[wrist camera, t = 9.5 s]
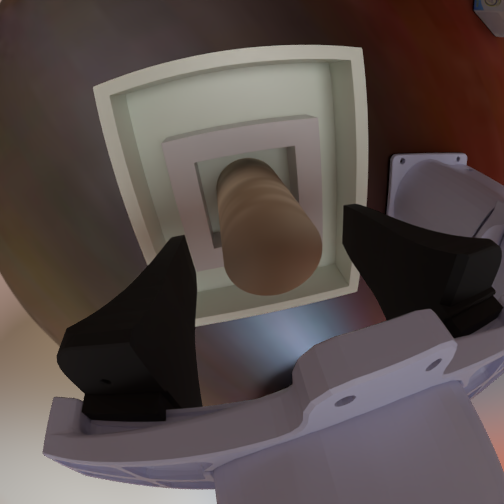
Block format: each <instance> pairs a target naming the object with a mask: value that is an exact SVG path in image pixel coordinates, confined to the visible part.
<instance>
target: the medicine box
mask: <svg viewBox="0 0 504 504" xmlns="http://www.w3.org/2000/svg"><path fill="white" fill-rule="evenodd" d="M474 12H475V13H476V14H477V15H478V16H479V18H480V19H481V20H482V21H483V22H484V23H485V25H486V26H487V27H488V28H489V29H490V31H491V32H492V33H493V34H494V35H495V36H497V37H504V0H474Z"/></svg>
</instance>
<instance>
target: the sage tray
mask: <svg viewBox="0 0 504 504" xmlns="http://www.w3.org/2000/svg"><path fill="white" fill-rule="evenodd" d="M93 90H94V95H95V100H96V105H97V109H98V114H99V118H100V122H101V126H102V130H103V134H104V138H105V142H106V146H107V149H108V153H109V157H110V160H111V163H112V167H113V170H114V173H115V177H116V180H117V183H118V186H119V189H120V192H121V195H122V198H123V201H124V204H125V207H126V210H127V213H128V216H129V219H130V221H131V224H132V227H133V230H134V232H135V235H136V238H137V240H138V243H139V245H140V248H141V250H142V253H143V255H144V258H145V260H146V263H147V265H149V264H150V263H151V262H152V260H153V259H154V258H155V257H156V255H157V254H158V253H159V252H160V250H161V249H162V248H163V247H164V245H165V244H166V243H167V242H168V240H169V239H170V238H171V237H175V236H180V235H185V238H186V241H187V244H188V248H189V251H190V254H191V257H192V261H193V264H194V267H195V270H196V278H197V303H196V319H195V326H201V325H207V324H213V323H219V322H224V321H230V320H235V319H240V318H245V317H250V316H255V315H260V314H265V313H270V312H274V311H279V310H284V309H288V308H293V307H297V306H301V305H306V304H310V303H314V302H318V301H322V300H326V299H330V298H334V297H338V296H342V295H346V294H349V293H353V292H357V290H358V283H359V276H360V273H359V272H358V270H357V269H356V267H355V266H354V264H353V263H352V261H351V260H350V258H349V256H348V254H347V252H346V250H345V248H344V246H343V244H342V234H343V205H349V204H359V205H363V206H365V207H366V205H367V185H368V114H367V95H366V82H365V70H364V61H363V52H362V48H357V47H345V46H328V45H282V46H264V47H253V48H243V49H235V50H227V51H220V52H214V53H208V54H203V55H198V56H193V57H188V58H183V59H179V60H175V61H171V62H167V63H163V64H159V65H155V66H152V67H148V68H145V69H142V70H139V71H135V72H132V73H129V74H126V75H123V76H121V77H118V78H115V79H112V80H110V81H107V82H104V83H102V84H99V85H97V86H94V87H93ZM242 158H255V159H259V160H261V161H264V162H265V163H267V164H268V165H269V166H270V167H271V168H272V169H273V170H274V172H275V173H276V174H277V176H278V177H279V178H280V179H281V181H282V182H283V183H284V185H285V186H286V187H287V189H288V190H289V191H290V193H291V194H292V195H293V197H294V198H295V199H296V201H297V202H298V203H299V205H300V206H301V207H302V209H303V210H304V212H305V213H306V214H307V216H308V217H309V218H310V220H311V221H312V223H313V224H314V225H315V227H316V228H317V230H318V232H319V234H320V236H321V240H322V256H321V259H320V262H319V264H318V266H317V268H316V270H315V271H314V273H313V274H312V275H311V276H310V277H309V278H308V279H307V280H306V281H305V282H304V283H303V284H301V285H300V286H298V287H297V288H295V289H293V290H291V291H288V292H286V293H282V294H279V295H272V296H260V295H254V294H251V293H248V292H245V291H243V290H241V289H240V288H238V287H237V286H236V285H235V284H234V283H233V282H232V281H231V280H230V279H229V277H228V275H227V273H226V271H225V268H224V261H223V252H222V243H221V233H220V223H219V212H218V202H217V190H216V186H217V181H218V178H219V175H220V174H221V172H222V171H223V169H224V168H225V167H226V166H227V165H229V164H230V163H232V162H234V161H236V160H238V159H242Z"/></svg>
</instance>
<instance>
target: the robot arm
mask: <svg viewBox="0 0 504 504" xmlns="http://www.w3.org/2000/svg"><path fill="white" fill-rule="evenodd" d="M401 159H402V162H401V163H400V160H401ZM466 164H467V155H466V154H464V153H410V154H394V155H393V156H392V157H391V159H390V175H389V190H388V202H387V212H386V214H383V213H381V212H378V211H376V210H373V209H371V208H368V207H365V206H363V205H359V204H349V205H343V234H342V244H343V246H344V248H345V250H346V252H347V254H348V256H349V258H350V260H351V261H352V263H353V264H354V266H355V267H356V269H357V270H358V272H359V273H360V274H361V276H362V277H363V279H364V280H365V282H366V283H367V285H368V286H369V288H370V289H371V290H372V292H373V294H374V295H375V297H376V299H377V301H378V303H379V305H380V307H381V309H382V311H383V313H384V315H385V317H386V320H387V321H384V322H381V323H378V324H375V325H372V326H369V327H366V328H363V329H359V330H356V331H353V332H349V333H346V334H342V335H339V336H335V337H333V338H330V339H328V340H326V341H323V342H321V343H319V344H316V345H314V346H313V347H312V348H311V349H309V350H308V351H307V352H306V353H304V354H303V355H302V356H301V357H300V358H299V359H298V360H297V362H296V365H295V367H294V369H293V372H292V382H293V384H292V386H290V387H288V388H285V389H283V390H280V391H277V392H275V393H272V394H269V395H266V396H264V397H261V398H258V399H253V400H247V401H241V402H235V403H228V404H221V405H213V406H205V407H203V406H202V401H201V394H200V387H199V380H198V371H197V361H196V350H195V319H196V303H197V278H196V270H195V267H194V264H193V261H192V257H191V254H190V251H189V248H188V244H187V241H186V238H185V235H180V236H175V237H171V238H170V239H169V240H168V242H167V243H166V244H165V245H164V247H163V248H162V249H161V250H160V252H159V253H158V254H157V255H156V257H155V258H154V259H153V260H152V262H151V263H150V264H149V265H148V266H147V267H146V268H145V270H144V271H143V272H142V273H141V274H140V275H139V276H138V277H137V278H136V279H135V280H134V281H133V282H132V283H131V284H130V285H129V286H128V287H127V288H126V289H125V290H124V291H123V292H121V293H120V294H119V295H118V296H116V297H115V298H114V299H113V300H112V301H110V302H109V303H108V304H106V305H105V306H104V307H102V308H101V309H99V310H98V311H96V312H95V313H93V314H92V315H90V316H88V317H87V318H85V319H83V320H82V321H80V322H78V323H76V324H74V325H72V326H71V327H69V328H67V329H66V332H65V334H64V337H63V340H62V343H61V345H60V348H59V351H58V354H57V363H58V365H59V367H60V369H61V370H62V371H63V373H64V374H65V375H66V376H67V377H68V378H69V379H70V380H71V381H72V382H73V383H74V384H75V385H76V386H77V387H78V388H79V389H80V390H81V391H82V392H84V393H85V396H84V401H81V400H79V399H75V398H65V397H54V398H53V402H52V406H51V411H50V415H49V420H48V425H47V430H46V435H45V441H44V448H43V454H44V456H46V457H48V458H50V459H52V460H54V461H56V462H58V463H60V464H62V465H64V466H66V467H68V468H70V469H72V470H74V471H77V472H79V473H81V474H83V475H86V476H90V477H95V478H101V479H106V480H112V481H117V482H123V483H129V484H136V485H144V486H153V487H163V488H178V489H215V491H216V499H217V504H504V472H503V469H502V467H501V464H500V461H499V459H498V457H497V454H496V452H495V450H494V447H493V445H492V443H491V441H490V438H489V436H488V434H487V432H486V430H485V428H484V426H483V424H482V422H481V420H480V418H479V416H478V414H477V412H476V410H475V408H474V406H473V405H472V403H471V401H470V400H471V399H472V398H474V397H475V396H476V395H478V394H479V393H480V392H482V391H483V390H484V389H485V388H486V387H488V386H489V385H490V384H491V383H493V382H494V381H495V380H496V379H497V378H498V377H499V376H501V375H502V374H503V373H504V186H503V185H501V184H500V183H498V182H496V181H494V180H493V179H491V178H489V177H488V176H486V175H484V174H482V173H480V172H479V171H477V170H475V169H473V168H471V167H469V166H467V165H466Z"/></svg>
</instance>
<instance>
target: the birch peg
mask: <svg viewBox="0 0 504 504" xmlns="http://www.w3.org/2000/svg"><path fill="white" fill-rule="evenodd" d="M216 190H217V202H218V212H219V223H220V233H221V243H222V252H223V261H224V268H225V271H226V273H227V275H228V277H229V279H230V280H231V281H232V282H233V283H234V284H235V285H236V286H237V287H238V288H240V289H241V290H243V291H245V292H248V293H251V294H254V295H260V296H272V295H279V294H282V293H286V292H288V291H291V290H293V289H295V288H297V287H298V286H300V285H301V284H303V283H304V282H305V281H306V280H307V279H308V278H309V277H310V276H311V275H312V274H313V273H314V271H315V270H316V268H317V266H318V264H319V262H320V259H321V256H322V240H321V236H320V234H319V232H318V230H317V228H316V227H315V225H314V224H313V223H312V221H311V220H310V218H309V217H308V216H307V214H306V213H305V212H304V210H303V209H302V207H301V206H300V205H299V203H298V202H297V201H296V199H295V198H294V197H293V195H292V194H291V193H290V191H289V190H288V189H287V187H286V186H285V185H284V183H283V182H282V181H281V179H280V178H279V177H278V176H277V174H276V173H275V172H274V170H273V169H272V168H271V167H270V166H269V165H268V164H267V163H265V162H264V161H261V160H259V159H255V158H242V159H238V160H236V161H234V162H232V163H230V164H229V165H227V166H226V167H225V168H224V169H223V171H222V172H221V174H220V175H219V178H218V181H217V186H216Z"/></svg>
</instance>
